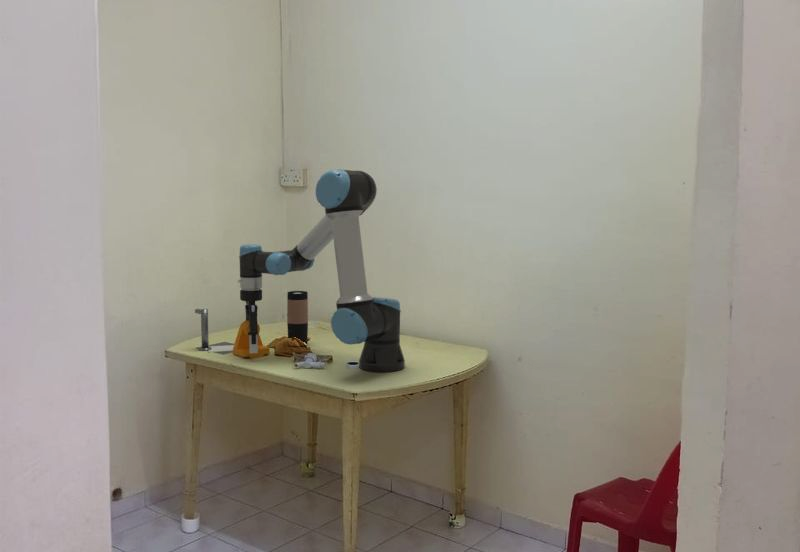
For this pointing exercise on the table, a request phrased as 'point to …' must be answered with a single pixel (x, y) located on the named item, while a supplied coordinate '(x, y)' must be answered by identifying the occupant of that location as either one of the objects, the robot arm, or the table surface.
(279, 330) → the table surface
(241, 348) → the bracket
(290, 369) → the table surface
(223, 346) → the mat
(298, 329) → the travel mug
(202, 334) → the grey smooth fixture
